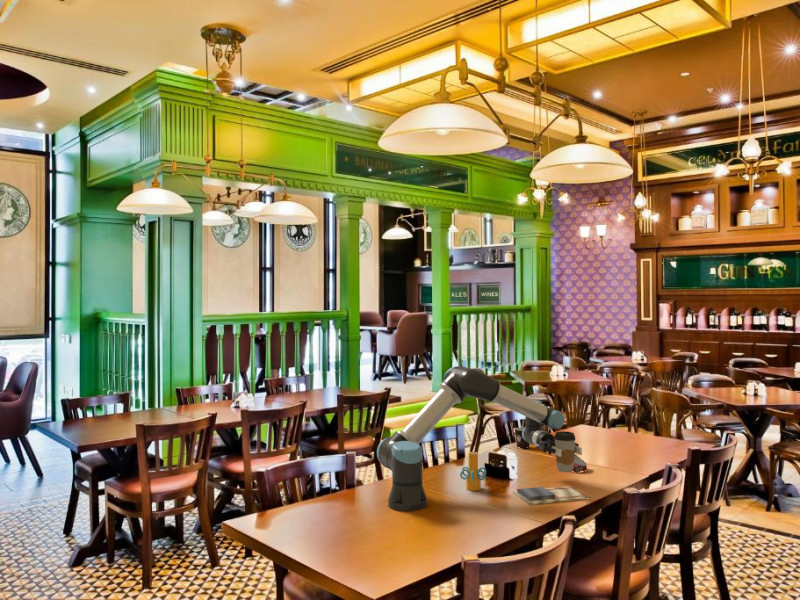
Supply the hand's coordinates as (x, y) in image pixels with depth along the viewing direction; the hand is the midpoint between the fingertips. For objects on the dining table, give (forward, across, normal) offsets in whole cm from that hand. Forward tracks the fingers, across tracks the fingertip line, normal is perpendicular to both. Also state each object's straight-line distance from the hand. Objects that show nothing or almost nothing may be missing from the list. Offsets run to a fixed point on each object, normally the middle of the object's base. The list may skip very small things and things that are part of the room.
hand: (570, 452), depth 254 cm
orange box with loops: (-23, +33, -18) cm, 44 cm away
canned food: (-38, -23, -19) cm, 48 cm away
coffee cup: (-5, 0, -8) cm, 10 cm away
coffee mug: (-85, -20, -18) cm, 89 cm away
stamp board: (-5, +7, -18) cm, 20 cm away
